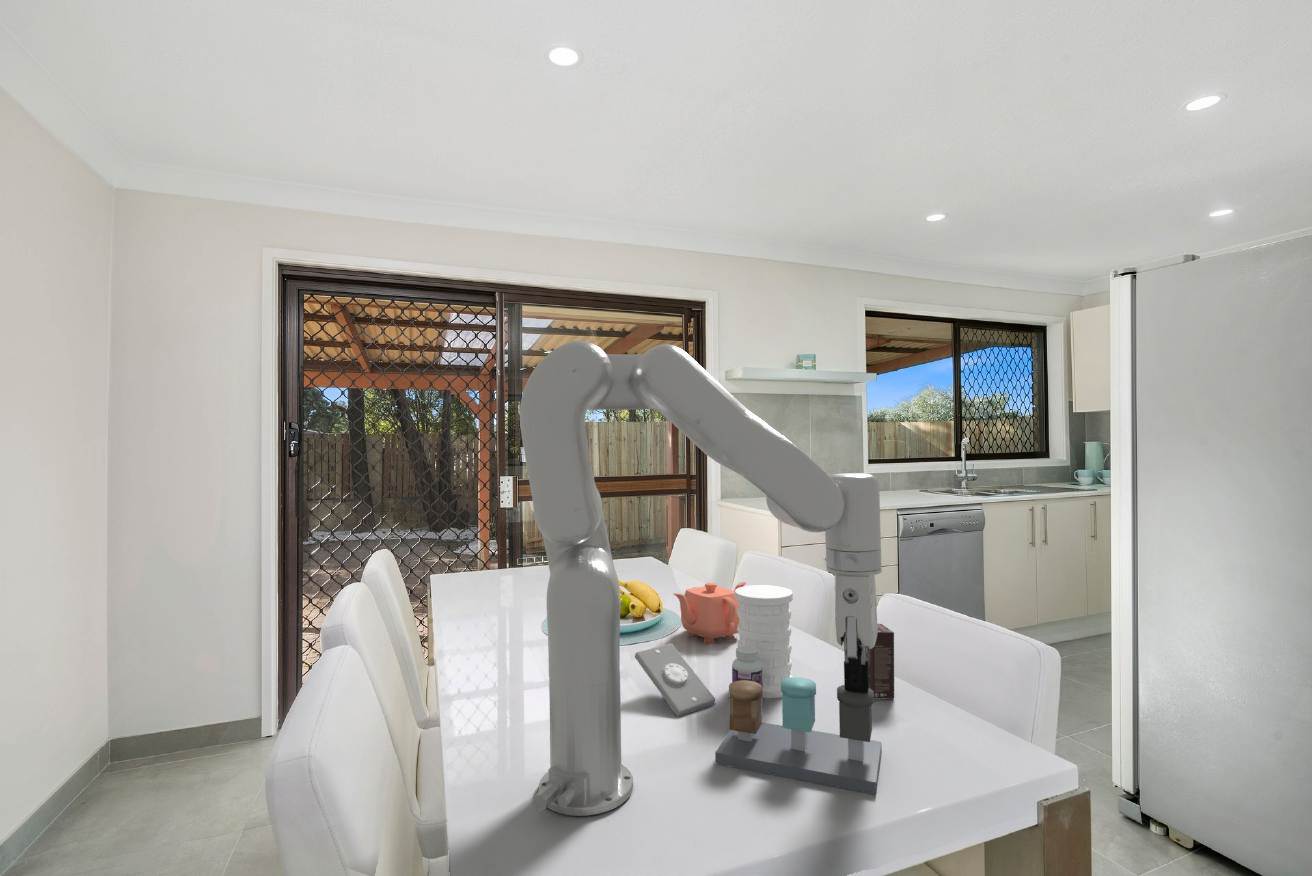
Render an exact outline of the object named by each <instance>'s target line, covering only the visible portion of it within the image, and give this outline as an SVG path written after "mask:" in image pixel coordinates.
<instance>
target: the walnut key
mask: <svg viewBox="0 0 1312 876" xmlns="http://www.w3.org/2000/svg"><path fill="white" fill-rule="evenodd" d="M728 695H729V697H728V701H729V702H728V706H729V707H728V713H729V715H728V716H729V722H728V723H729V731H730V730H734V731H740V732H746V733H752V734H756V733H757V731H758V729H759V728H760V726H761V724H762V722H763V702H762V686H761V685H760V684H759V683H757V682H753V681H746V680H741V681H735V682H732V681H731V683H729V685H728Z"/></svg>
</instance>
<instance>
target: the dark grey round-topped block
mask: <svg viewBox="0 0 1312 876" xmlns="http://www.w3.org/2000/svg"><path fill="white" fill-rule="evenodd" d="M836 698H837V699H836V700H837V701H839V703H838V712H839V713H838V715H839V716H838V717H839V719H838V720H839V723H838V724H839V735H840V737H841V738H847V739H853V740H859V741H865V742H870V740H871V737H872V731H873V717H872V716H873V715H872V714H873V713H872V712H873V710H872V705H873V704H874V703H875V699H874V692H873V690H871V689H870V688H869V690H868V692H867V693H861V692H853V691H846V690H845V687H844V684H841V685H839V686H838V687H837V688H836Z"/></svg>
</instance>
